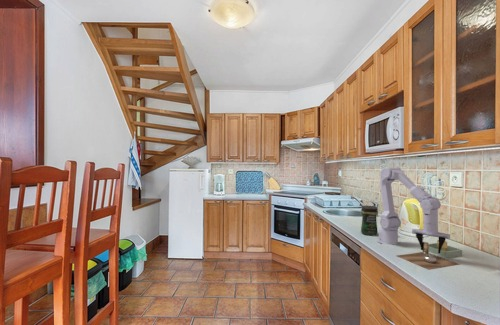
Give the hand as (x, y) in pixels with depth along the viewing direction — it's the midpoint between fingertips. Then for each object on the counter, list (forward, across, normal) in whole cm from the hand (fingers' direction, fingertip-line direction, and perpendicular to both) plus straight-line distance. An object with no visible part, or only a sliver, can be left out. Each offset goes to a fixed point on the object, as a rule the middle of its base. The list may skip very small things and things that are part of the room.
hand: (430, 251), depth 114 cm
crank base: (+4, -1, -6) cm, 7 cm away
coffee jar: (+4, -33, +25) cm, 42 cm away
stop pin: (+3, +4, +10) cm, 12 cm away
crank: (+2, -1, -4) cm, 5 cm away
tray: (+4, +4, +11) cm, 12 cm away
